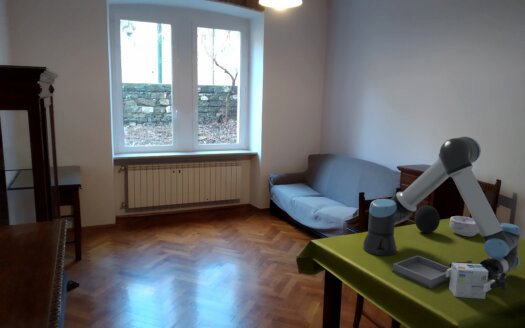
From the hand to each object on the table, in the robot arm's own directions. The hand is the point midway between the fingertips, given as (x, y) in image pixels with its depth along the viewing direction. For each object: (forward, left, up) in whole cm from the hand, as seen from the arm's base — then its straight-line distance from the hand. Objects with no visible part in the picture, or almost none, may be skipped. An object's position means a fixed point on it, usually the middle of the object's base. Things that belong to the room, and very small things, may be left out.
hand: (465, 280), depth 141 cm
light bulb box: (0, +3, -6) cm, 7 cm away
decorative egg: (-48, +52, -6) cm, 71 cm away
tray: (-18, +3, -6) cm, 19 cm away
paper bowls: (-36, +69, -6) cm, 78 cm away
